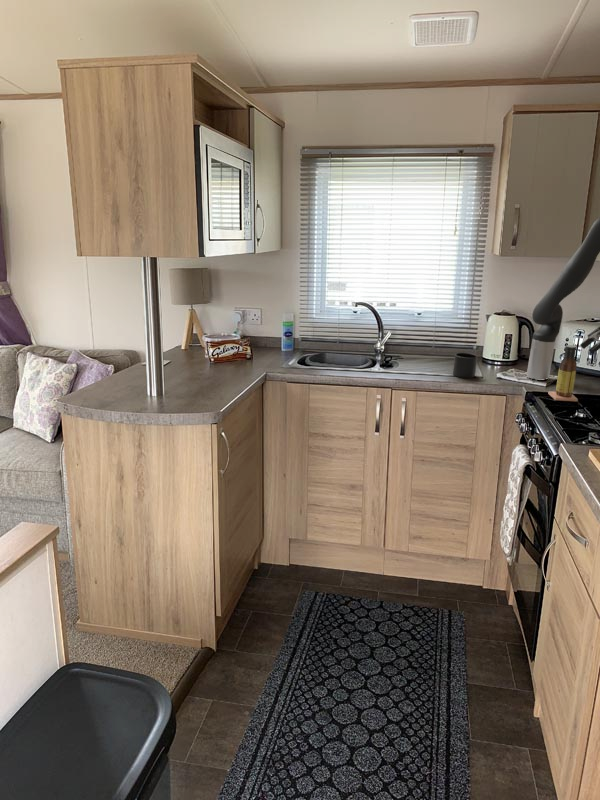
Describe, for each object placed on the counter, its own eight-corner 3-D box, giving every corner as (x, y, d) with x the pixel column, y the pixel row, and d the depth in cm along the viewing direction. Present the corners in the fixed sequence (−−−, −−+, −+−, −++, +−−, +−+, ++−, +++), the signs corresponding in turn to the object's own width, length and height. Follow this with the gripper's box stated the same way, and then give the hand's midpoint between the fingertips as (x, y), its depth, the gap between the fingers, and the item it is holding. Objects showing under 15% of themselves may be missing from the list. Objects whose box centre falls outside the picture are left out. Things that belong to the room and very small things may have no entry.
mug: (468, 371, 274) (471, 351, 272) (477, 378, 263) (480, 358, 260) (448, 370, 274) (450, 351, 271) (456, 378, 262) (459, 357, 260)
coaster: (548, 393, 246) (548, 391, 245) (569, 394, 245) (570, 392, 245) (555, 400, 238) (555, 397, 237) (577, 401, 237) (577, 399, 237)
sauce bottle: (567, 392, 245) (576, 344, 238) (574, 397, 239) (584, 348, 233) (551, 392, 244) (560, 343, 238) (558, 397, 238) (567, 347, 232)
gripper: (608, 311, 237) (573, 338, 241) (624, 317, 224) (587, 346, 228) (619, 325, 238) (584, 352, 243) (636, 332, 225) (598, 361, 229)
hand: (585, 349), depth 235 cm, fingers open, 8 cm apart
